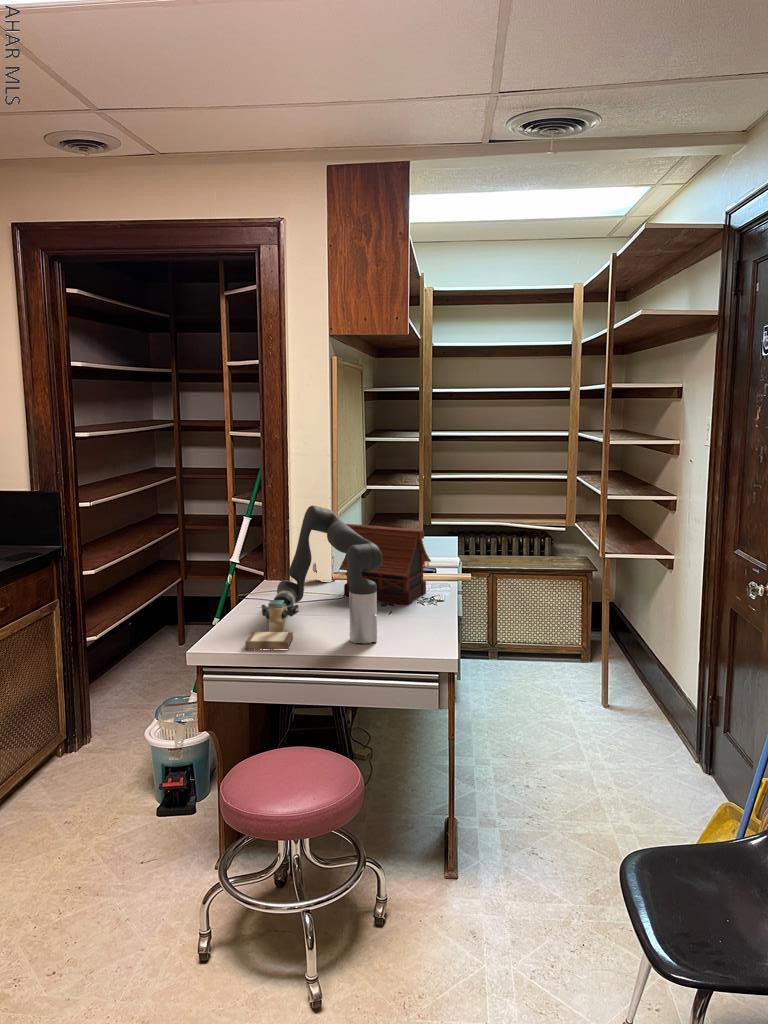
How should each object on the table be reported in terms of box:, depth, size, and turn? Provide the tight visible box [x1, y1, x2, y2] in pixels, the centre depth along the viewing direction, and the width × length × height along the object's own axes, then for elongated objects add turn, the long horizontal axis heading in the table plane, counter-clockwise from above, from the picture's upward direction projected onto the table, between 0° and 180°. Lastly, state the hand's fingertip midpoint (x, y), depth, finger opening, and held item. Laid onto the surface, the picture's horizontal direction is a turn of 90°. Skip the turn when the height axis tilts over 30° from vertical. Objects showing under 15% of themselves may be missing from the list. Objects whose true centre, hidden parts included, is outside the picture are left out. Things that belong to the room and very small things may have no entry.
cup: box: [312, 553, 336, 574], centre depth 326 cm, size 10×9×12 cm
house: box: [338, 523, 432, 606], centre depth 301 cm, size 35×28×29 cm
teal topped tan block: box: [267, 599, 286, 632], centre depth 255 cm, size 5×5×11 cm
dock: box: [245, 631, 294, 651], centre depth 242 cm, size 14×10×3 cm
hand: (275, 616), depth 252 cm, fingers closed on teal topped tan block, 4 cm apart
